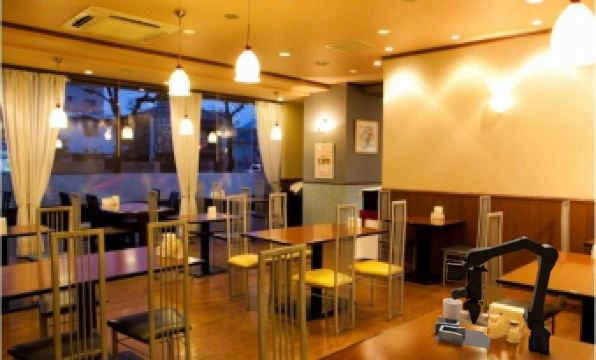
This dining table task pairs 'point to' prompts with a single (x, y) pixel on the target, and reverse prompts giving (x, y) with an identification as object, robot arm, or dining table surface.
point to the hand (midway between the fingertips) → (474, 322)
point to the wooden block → (480, 321)
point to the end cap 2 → (452, 334)
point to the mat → (473, 338)
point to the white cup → (452, 308)
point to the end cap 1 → (446, 323)
